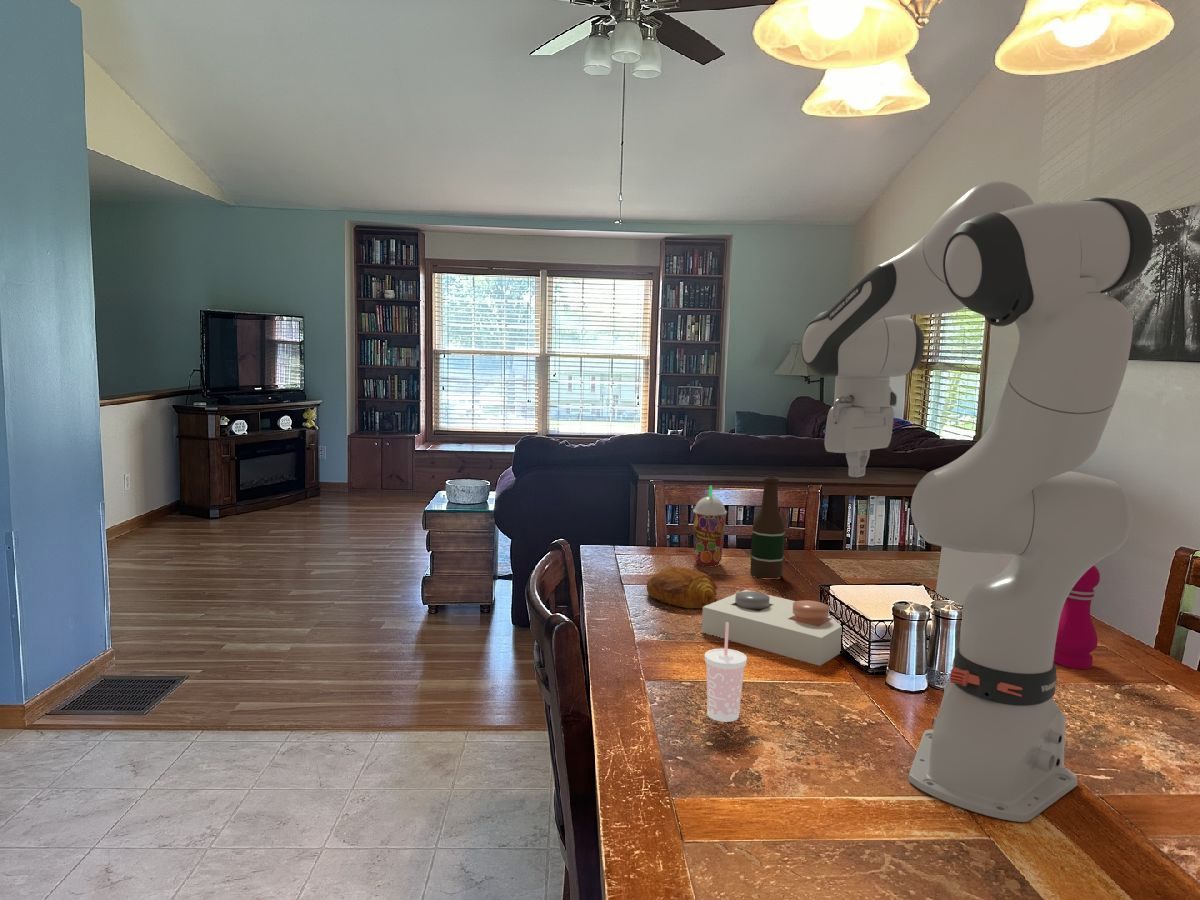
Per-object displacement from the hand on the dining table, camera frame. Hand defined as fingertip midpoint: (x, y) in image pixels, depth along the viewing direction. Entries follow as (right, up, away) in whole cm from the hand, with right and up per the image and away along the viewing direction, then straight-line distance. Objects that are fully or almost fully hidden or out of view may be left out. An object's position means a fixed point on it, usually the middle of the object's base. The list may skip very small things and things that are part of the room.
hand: (856, 476), depth 141 cm
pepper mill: (+39, -33, +4) cm, 52 cm away
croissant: (-26, -28, +36) cm, 52 cm away
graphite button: (-15, -30, +17) cm, 38 cm away
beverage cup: (-26, -35, -21) cm, 48 cm away
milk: (+32, -31, +26) cm, 51 cm away
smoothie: (-17, -24, +65) cm, 72 cm away
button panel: (-10, -31, +13) cm, 35 cm away
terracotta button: (-6, -30, +9) cm, 32 cm away
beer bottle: (-4, -26, +56) cm, 62 cm away
